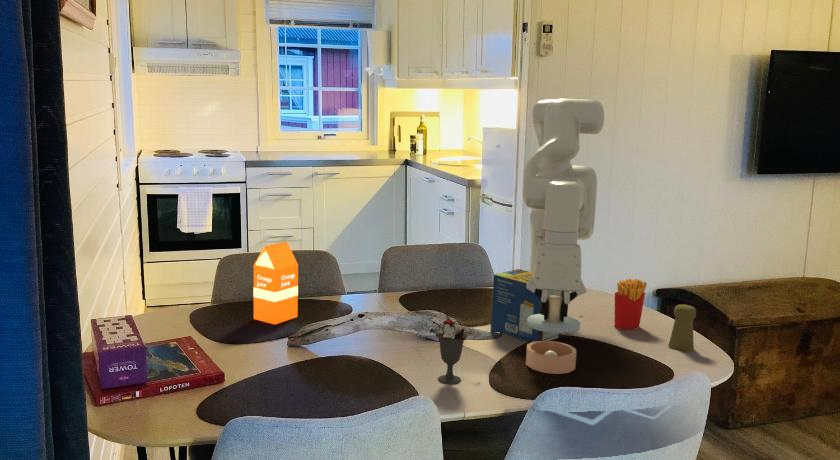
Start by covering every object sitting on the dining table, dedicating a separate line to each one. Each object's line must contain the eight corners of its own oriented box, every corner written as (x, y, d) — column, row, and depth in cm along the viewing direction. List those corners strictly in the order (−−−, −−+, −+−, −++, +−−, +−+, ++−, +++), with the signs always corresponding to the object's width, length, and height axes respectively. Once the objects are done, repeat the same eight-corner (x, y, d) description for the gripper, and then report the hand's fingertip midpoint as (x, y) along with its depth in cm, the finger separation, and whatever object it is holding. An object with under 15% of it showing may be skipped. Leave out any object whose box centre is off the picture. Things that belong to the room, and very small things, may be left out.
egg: (540, 364, 162) (541, 350, 162) (547, 360, 165) (548, 347, 164) (553, 368, 160) (554, 354, 160) (560, 364, 163) (561, 350, 162)
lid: (517, 325, 160) (519, 296, 158) (543, 314, 169) (545, 287, 167) (564, 337, 152) (566, 307, 151) (588, 325, 161) (591, 297, 160)
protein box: (514, 324, 194) (517, 268, 191) (562, 339, 183) (566, 280, 180) (489, 332, 186) (492, 273, 184) (537, 347, 176) (541, 286, 173)
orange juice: (298, 316, 192) (298, 243, 189) (274, 324, 185) (275, 248, 182) (276, 311, 197) (276, 239, 193) (252, 318, 189) (252, 244, 186)
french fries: (619, 330, 192) (623, 283, 189) (609, 325, 196) (613, 279, 193) (646, 327, 196) (650, 281, 193) (635, 322, 199) (639, 277, 197)
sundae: (431, 374, 156) (435, 307, 153) (462, 374, 157) (466, 307, 154) (435, 385, 149) (438, 316, 147) (467, 386, 150) (470, 317, 147)
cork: (695, 353, 176) (700, 310, 174) (670, 350, 177) (674, 307, 175) (691, 345, 182) (696, 303, 180) (666, 342, 183) (671, 301, 181)
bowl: (516, 367, 162) (517, 348, 161) (540, 355, 170) (542, 337, 169) (559, 380, 155) (561, 361, 154) (583, 367, 163) (584, 348, 163)
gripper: (521, 238, 155) (516, 320, 158) (599, 243, 152) (592, 327, 155) (522, 232, 162) (517, 311, 165) (596, 237, 160) (589, 317, 163)
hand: (553, 318), depth 160 cm, fingers closed on lid, 3 cm apart
